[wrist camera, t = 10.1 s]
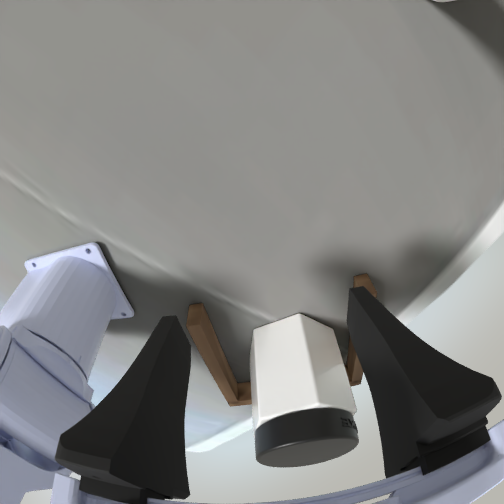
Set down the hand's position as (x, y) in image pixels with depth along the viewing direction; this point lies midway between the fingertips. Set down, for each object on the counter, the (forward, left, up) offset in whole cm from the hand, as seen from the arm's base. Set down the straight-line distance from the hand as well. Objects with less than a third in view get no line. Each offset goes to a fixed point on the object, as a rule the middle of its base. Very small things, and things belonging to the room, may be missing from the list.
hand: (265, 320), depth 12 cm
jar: (+1, -15, -10) cm, 18 cm away
